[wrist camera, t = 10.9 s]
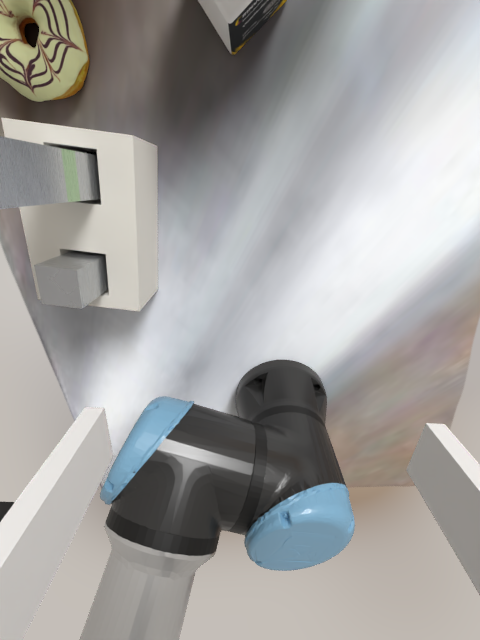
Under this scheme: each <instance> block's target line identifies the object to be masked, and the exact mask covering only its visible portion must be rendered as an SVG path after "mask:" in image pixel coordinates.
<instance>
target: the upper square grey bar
mask: <svg viewBox="0 0 480 640" xmlns="http://www.w3.org/2000/svg"><path fill="white" fill-rule="evenodd" d="M96 199H101V195H100V183H99V172H98V160H97V155H92V154H87V153H82V152H77V151H72V150H67V149H62V148H57V147H52V146H47V145H42V144H37V143H32V142H27V141H22V140H17V139H12V138H7V137H1V136H0V209H4V208H14V207H24V206H35V205H45V204H55V203H66V202H76V201H86V200H96Z"/></svg>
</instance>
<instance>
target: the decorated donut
mask: <svg viewBox="0 0 480 640" xmlns="http://www.w3.org/2000/svg"><path fill="white" fill-rule="evenodd" d="M28 23H36V24H37V25H38V26H39V36H38V40H37V44H36V47H35V48H33V47H31V46H30V45H29V44H28V43H27V41H26V38H25V32H24V28H25V26H26V24H28ZM89 63H90V60H89V54H88V49H87V44H86V40H85V35H84V31H83V27H82V24H81V21H80V19H79V16H78V14H77V11H76V9H75V7H74V5H73V3H72V1H71V0H0V78H2V79H3V80H5V81H6V82H8V83H9V84H10V85H11V86H12V87H13V88H15V89H16V90H17V91H18V92H19V93H20V94H22V95H23V96H25V97H27V98H28V99H30V100H33V101H37V102H43V101H44V100H57V99H64V98H67V97H70V96H72V95H74V94H76V93H77V91H79V90H80V89H81V88H82V87H83V83H84V80H85V78H86V74H87V72H88V67H89Z"/></svg>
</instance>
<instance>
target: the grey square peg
mask: <svg viewBox="0 0 480 640" xmlns="http://www.w3.org/2000/svg"><path fill="white" fill-rule="evenodd" d="M34 267H35V272H36V277H37V282H38V288H39V293H40V298H41V303H42V304H45V305H53V306H62V307H70V308H79V309H83V308H84V307H85V306H87V305H88V304H89V303H91V302H92V301H93V300H95V299H96V298H97V297H98V296H100V295H101V294H102V293H104V292H105V291H106V290H108V289H109V288H108V276H107V265H106V254H101V253H93V252H85V251H76V250H73V251H70V252H68V253H65V254H62V255H60V256H57V257H54V258H52V259H49V260H46V261H44V262H41V263H38V264H36V265H34Z"/></svg>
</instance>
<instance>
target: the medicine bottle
mask: <svg viewBox="0 0 480 640" xmlns="http://www.w3.org/2000/svg"><path fill="white" fill-rule="evenodd" d="M198 1H199V3H200V5H201V6H202V8H203V10H204V11H205V13H206V15H207V16H208V18H209V19H210V21H211V23H212V24H213V26H214V28H215V29H216V31H217V33H218V34H219V36H220V37H221V39H222V41H223V42H224V44H225V46H226V47H227V49H228V51H229V52H230V54H231V55H235V54H236V53H237V52H238V51H239V50H240V49H241V48H242V47H243V45H244V44H245V43H246V42H247V41H248V40H249V39H250V38H251V37H252V36H253V35H254V34H255V33H256V32H257V31H258V30H259V29H260V28H261V27H262V26H263V25H264V24H265V23H266V22H267V21H268V20H269V19H270V17H271V16H272V15H273V14H274V13H275V12H276V11H277V10H278V9H279V8H280V7H281V6H282V5H283V4H284V3H285V2H286V1H287V0H198Z"/></svg>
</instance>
